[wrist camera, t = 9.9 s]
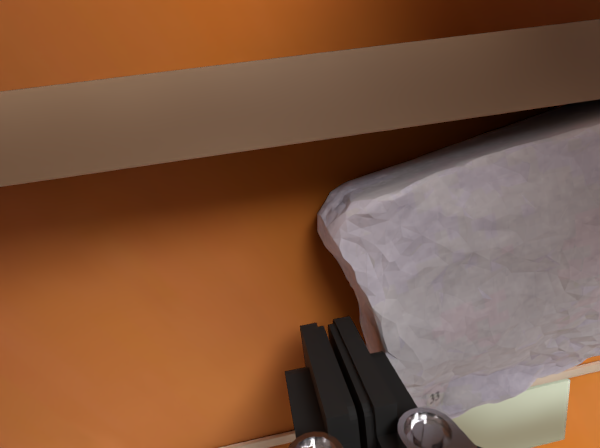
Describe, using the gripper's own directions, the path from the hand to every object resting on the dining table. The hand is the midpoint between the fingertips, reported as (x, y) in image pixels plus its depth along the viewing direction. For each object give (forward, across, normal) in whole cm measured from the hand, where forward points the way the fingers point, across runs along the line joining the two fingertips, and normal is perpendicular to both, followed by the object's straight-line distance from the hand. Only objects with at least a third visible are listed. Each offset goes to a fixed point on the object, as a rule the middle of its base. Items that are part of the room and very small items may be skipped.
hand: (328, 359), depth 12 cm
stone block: (+3, -7, -2) cm, 8 cm away
